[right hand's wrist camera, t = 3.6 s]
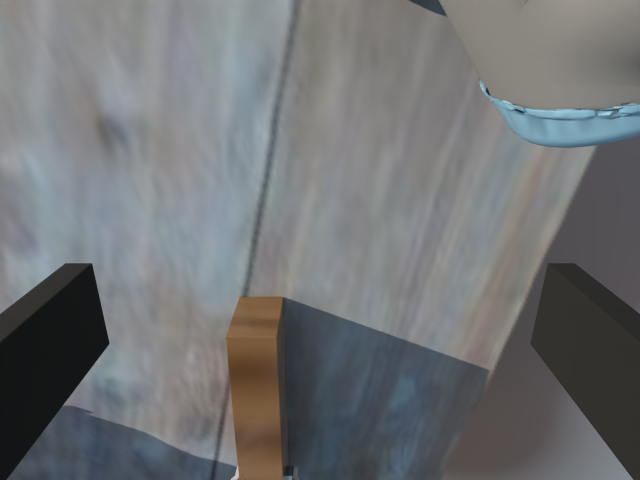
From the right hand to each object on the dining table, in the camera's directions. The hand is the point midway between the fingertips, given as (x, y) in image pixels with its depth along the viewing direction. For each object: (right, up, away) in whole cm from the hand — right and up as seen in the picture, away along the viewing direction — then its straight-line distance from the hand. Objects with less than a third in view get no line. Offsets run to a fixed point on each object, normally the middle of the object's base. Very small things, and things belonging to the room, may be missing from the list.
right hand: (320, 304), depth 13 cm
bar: (-7, -18, +43) cm, 47 cm away
